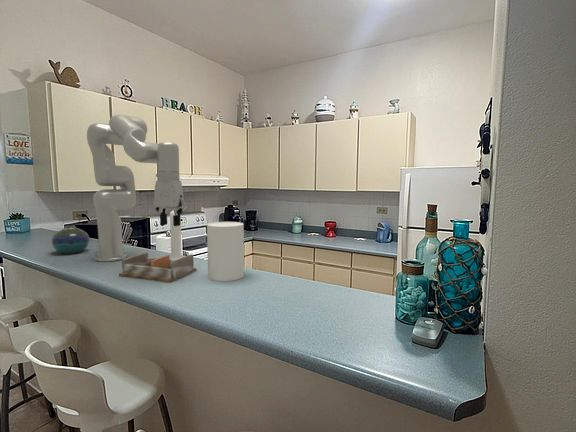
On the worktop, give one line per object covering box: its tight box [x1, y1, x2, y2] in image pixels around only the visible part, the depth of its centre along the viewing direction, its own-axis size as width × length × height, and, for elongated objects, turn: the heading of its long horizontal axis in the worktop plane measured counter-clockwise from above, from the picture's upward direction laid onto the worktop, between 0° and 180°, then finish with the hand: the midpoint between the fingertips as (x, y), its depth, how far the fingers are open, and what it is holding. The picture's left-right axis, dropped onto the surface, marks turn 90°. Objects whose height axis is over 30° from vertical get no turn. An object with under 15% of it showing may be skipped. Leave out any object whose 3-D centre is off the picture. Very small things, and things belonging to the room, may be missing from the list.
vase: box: [51, 224, 90, 255], centre depth 156 cm, size 15×15×13 cm
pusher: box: [151, 254, 171, 268], centre depth 123 cm, size 1×9×5 cm, turn 163°
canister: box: [206, 221, 245, 282], centre depth 120 cm, size 14×14×20 cm
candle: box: [169, 210, 183, 260], centre depth 142 cm, size 7×7×25 cm
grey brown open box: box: [118, 252, 197, 283], centre depth 123 cm, size 23×16×7 cm
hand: (170, 224), depth 119 cm, fingers open, 5 cm apart
